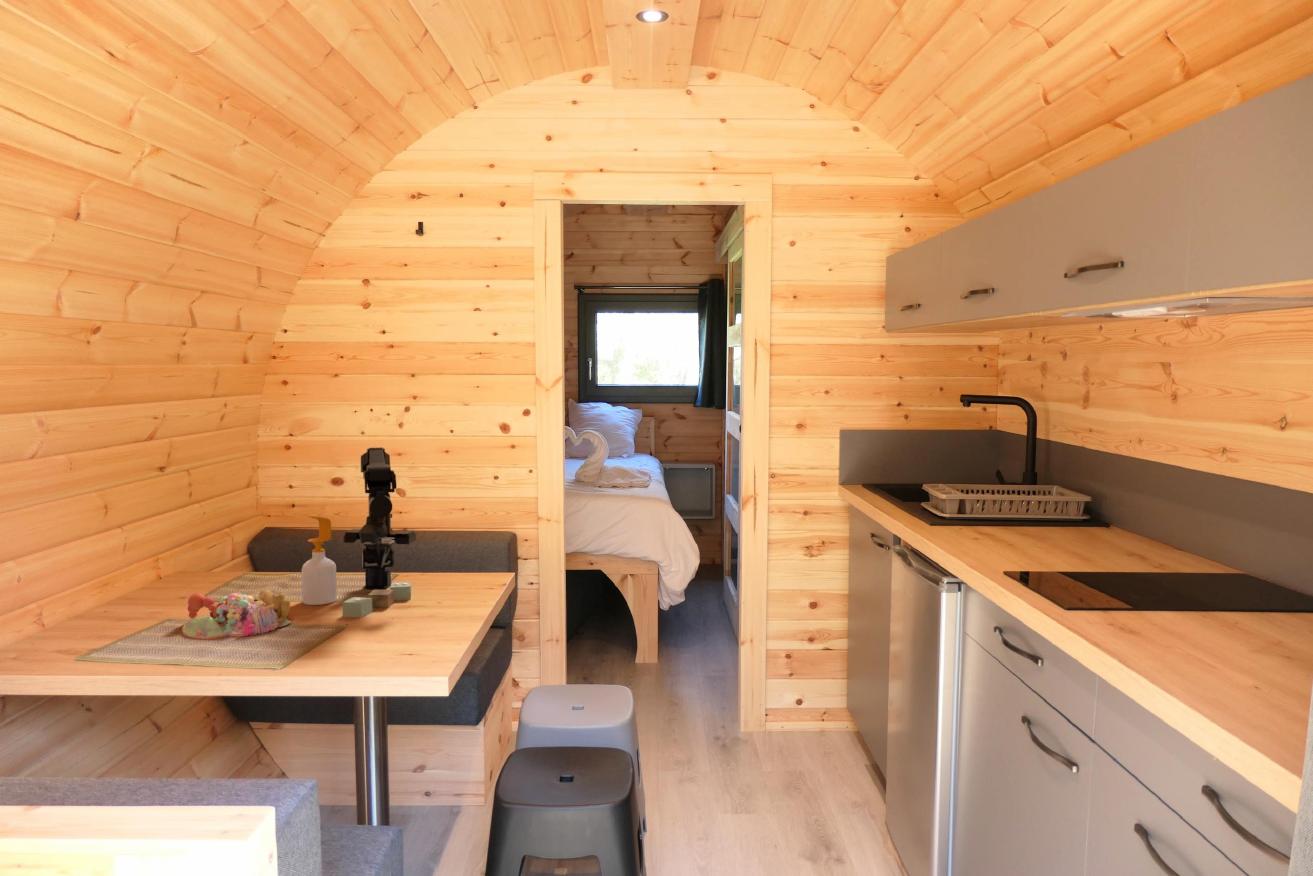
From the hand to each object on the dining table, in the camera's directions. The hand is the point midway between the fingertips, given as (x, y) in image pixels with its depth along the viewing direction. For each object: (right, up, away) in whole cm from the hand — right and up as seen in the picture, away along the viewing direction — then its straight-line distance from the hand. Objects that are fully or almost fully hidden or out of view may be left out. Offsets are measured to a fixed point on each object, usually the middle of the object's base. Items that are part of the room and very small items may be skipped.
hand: (380, 567), depth 233 cm
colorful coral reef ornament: (-30, -13, -19) cm, 38 cm away
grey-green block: (-4, -12, -8) cm, 14 cm away
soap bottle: (-19, -11, +5) cm, 22 cm away
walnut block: (0, -11, +1) cm, 11 cm away
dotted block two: (+3, -10, +9) cm, 14 cm away
